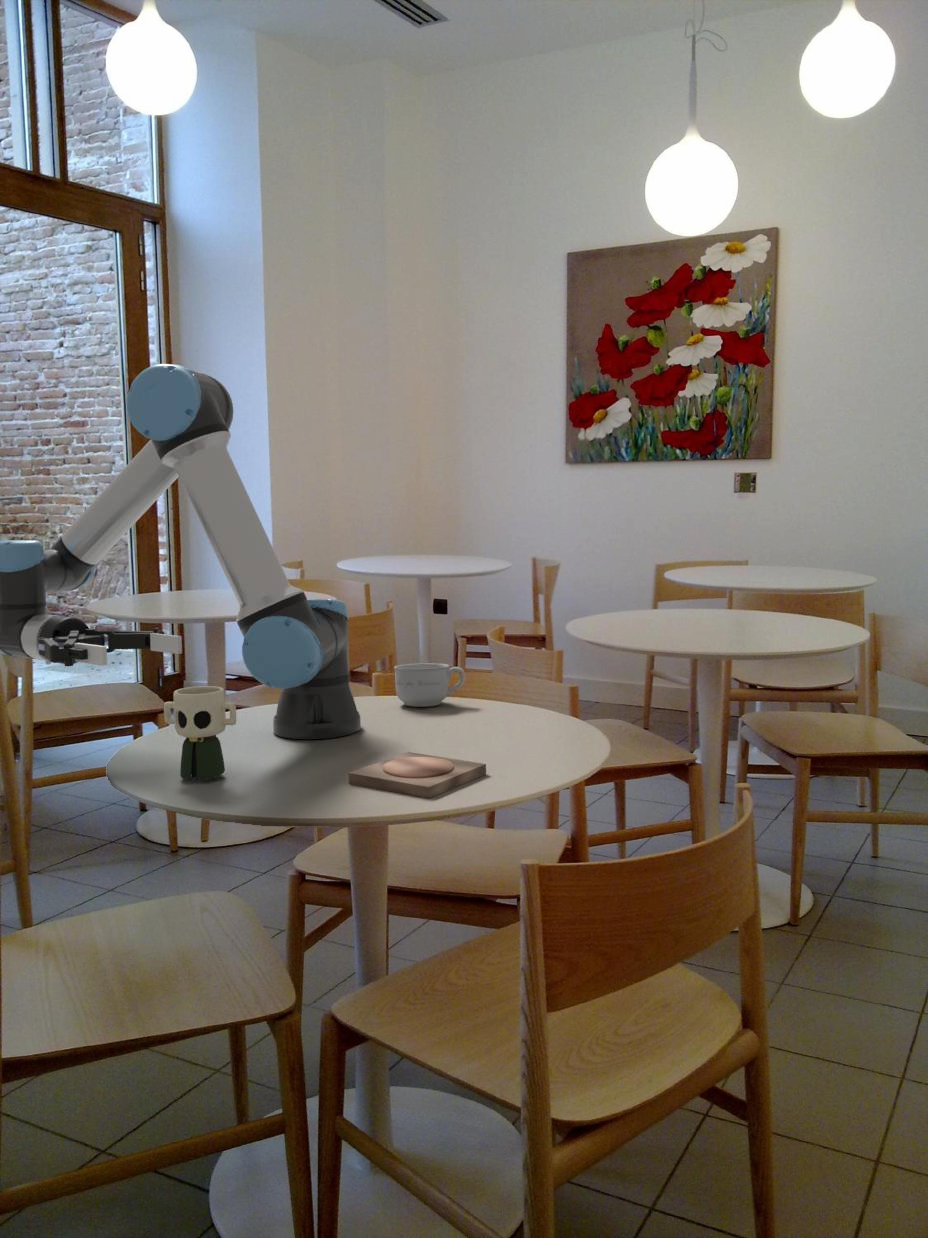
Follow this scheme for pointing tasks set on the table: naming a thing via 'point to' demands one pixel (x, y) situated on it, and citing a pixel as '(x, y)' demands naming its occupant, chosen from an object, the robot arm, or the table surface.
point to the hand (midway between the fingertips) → (143, 650)
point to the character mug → (200, 729)
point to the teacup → (425, 683)
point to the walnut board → (417, 774)
